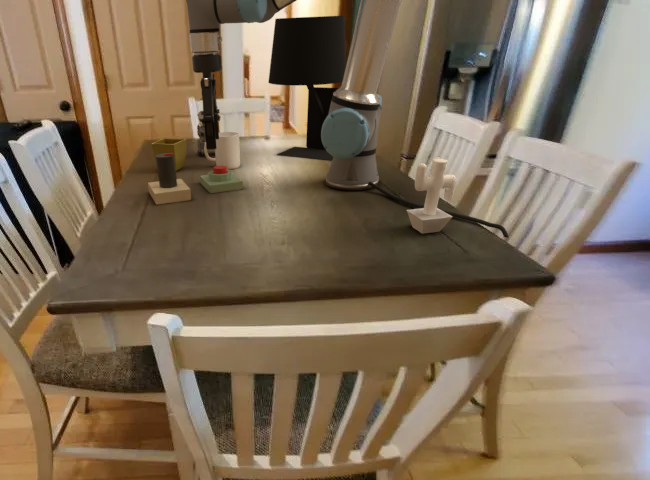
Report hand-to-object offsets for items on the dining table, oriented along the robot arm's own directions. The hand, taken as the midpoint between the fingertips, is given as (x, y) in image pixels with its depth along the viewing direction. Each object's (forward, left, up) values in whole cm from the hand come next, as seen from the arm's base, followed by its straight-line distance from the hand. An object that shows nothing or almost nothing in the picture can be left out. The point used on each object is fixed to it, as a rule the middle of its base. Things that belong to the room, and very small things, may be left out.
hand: (213, 143), depth 132 cm
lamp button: (+1, -2, -8) cm, 9 cm away
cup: (+22, -13, -12) cm, 28 cm away
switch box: (+1, -2, -12) cm, 12 cm away
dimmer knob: (0, +15, -9) cm, 18 cm away
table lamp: (+17, -44, -12) cm, 48 cm away
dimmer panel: (0, +15, -12) cm, 19 cm away
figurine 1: (+40, -17, -12) cm, 45 cm away
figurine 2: (-59, -25, -12) cm, 66 cm away
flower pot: (+29, +3, -12) cm, 31 cm away
